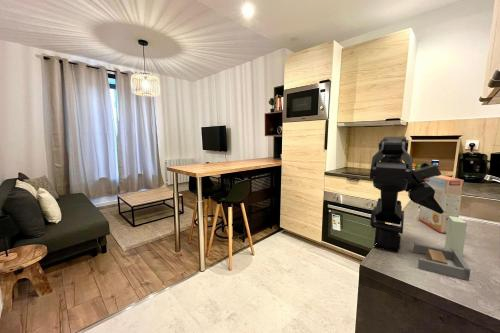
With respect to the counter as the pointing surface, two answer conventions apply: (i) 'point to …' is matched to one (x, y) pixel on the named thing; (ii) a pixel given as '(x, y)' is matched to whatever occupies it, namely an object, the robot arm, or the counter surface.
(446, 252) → the frame
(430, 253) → the walnut offcuts
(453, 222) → the sage board
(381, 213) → the robot arm
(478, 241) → the counter surface
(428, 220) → the cracker box
